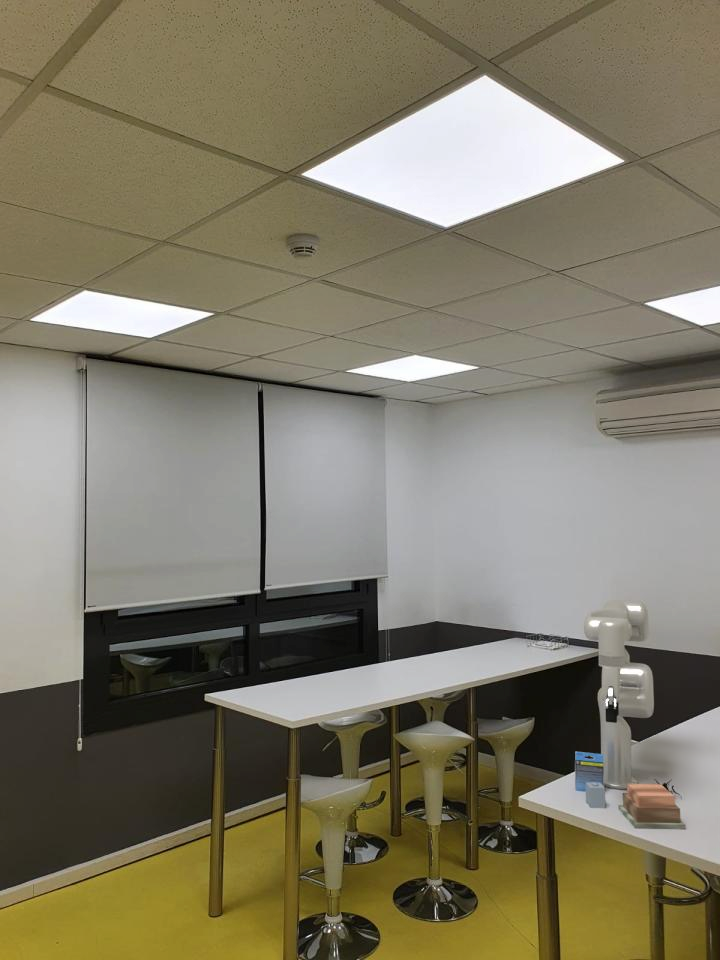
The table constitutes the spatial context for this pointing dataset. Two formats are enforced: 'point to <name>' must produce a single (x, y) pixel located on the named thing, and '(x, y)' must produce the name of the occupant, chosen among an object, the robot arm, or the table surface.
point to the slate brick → (595, 795)
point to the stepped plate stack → (651, 807)
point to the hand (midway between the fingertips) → (612, 718)
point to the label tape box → (588, 770)
